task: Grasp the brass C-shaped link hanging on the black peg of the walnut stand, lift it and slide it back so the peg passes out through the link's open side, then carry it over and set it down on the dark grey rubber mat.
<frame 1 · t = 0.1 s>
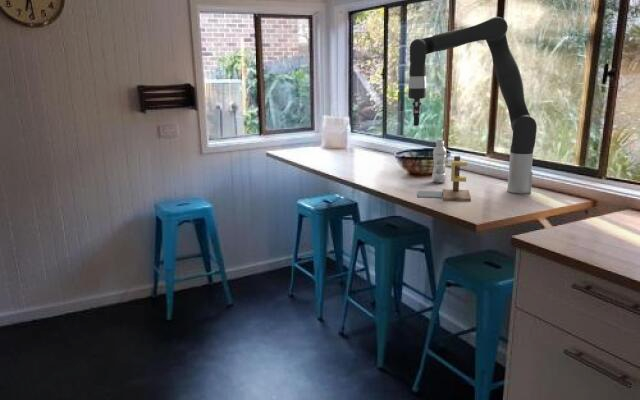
hand: (416, 124, 224), 29 cm above the breakfast bar, fingers open, 8 cm apart
plastic bottle: (438, 182, 243), on the breakfast bar
c link: (458, 180, 214), point 7 cm above the breakfast bar, touching stand
stand: (456, 196, 216), on the breakfast bar
mat: (429, 194, 220), on the breakfast bar
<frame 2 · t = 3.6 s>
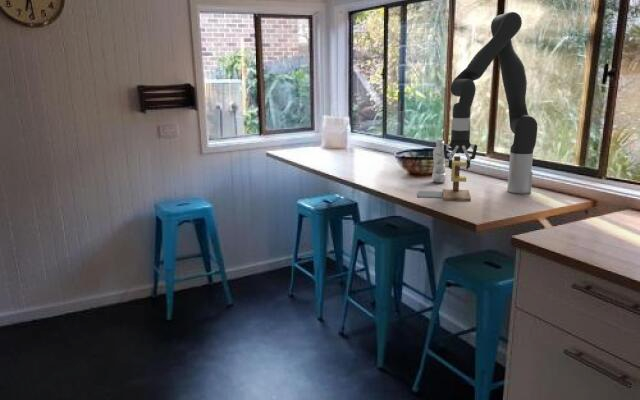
hand: (458, 168, 212), 12 cm above the breakfast bar, fingers closed on c link, 6 cm apart
c link: (458, 180, 214), point 7 cm above the breakfast bar, touching gripper, stand
everything else where it was.
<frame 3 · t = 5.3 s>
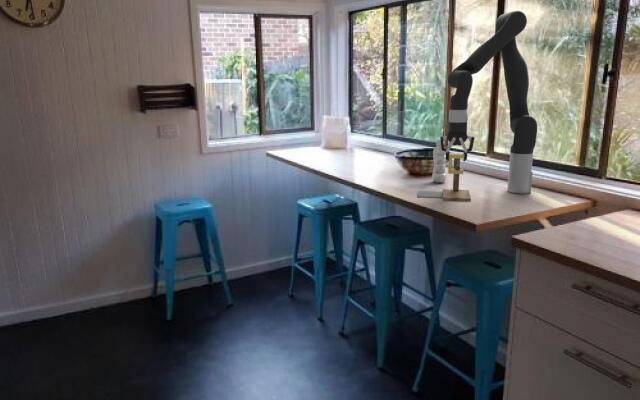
hand: (456, 160, 212), 15 cm above the breakfast bar, fingers closed on c link, 6 cm apart
c link: (455, 172, 213), point 10 cm above the breakfast bar, touching gripper
everything else where it was.
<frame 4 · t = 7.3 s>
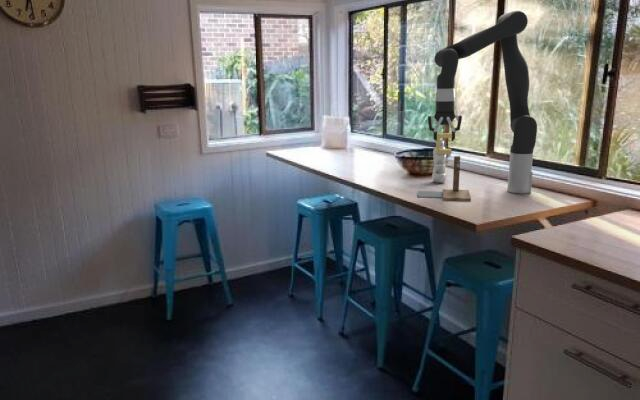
hand: (444, 140, 211), 24 cm above the breakfast bar, fingers closed on c link, 6 cm apart
c link: (443, 152, 212), point 19 cm above the breakfast bar, touching gripper
everything else where it was.
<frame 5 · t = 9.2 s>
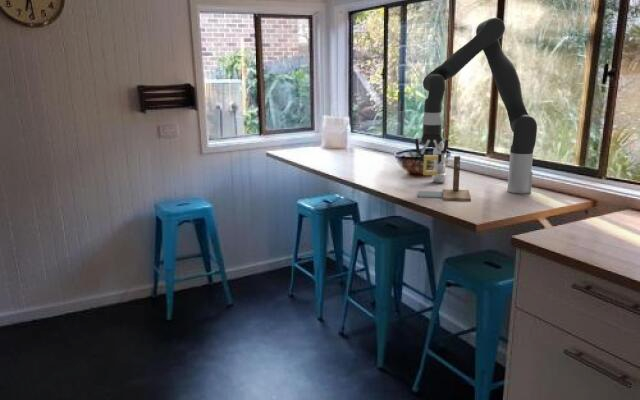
hand: (430, 162, 216), 14 cm above the breakfast bar, fingers closed on c link, 6 cm apart
c link: (430, 174, 218), point 9 cm above the breakfast bar, touching gripper
everything else where it was.
when the fingers open (7 cm above the breakfast bar, at t = 11.1 s): c link drops 1 cm, resting on mat.
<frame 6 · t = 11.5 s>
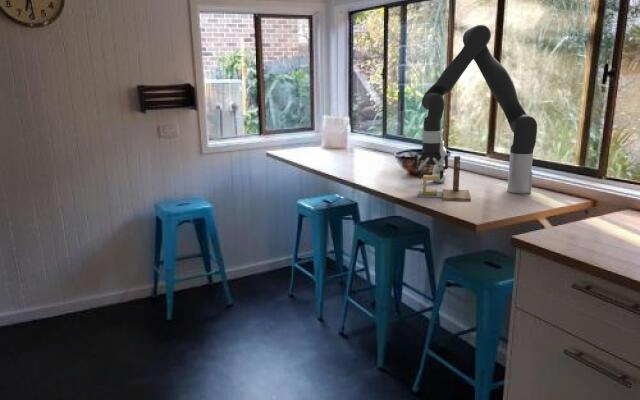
hand: (430, 178, 218), 7 cm above the breakfast bar, fingers open, 8 cm apart
c link: (429, 193, 220), resting on mat
everything else where it was.
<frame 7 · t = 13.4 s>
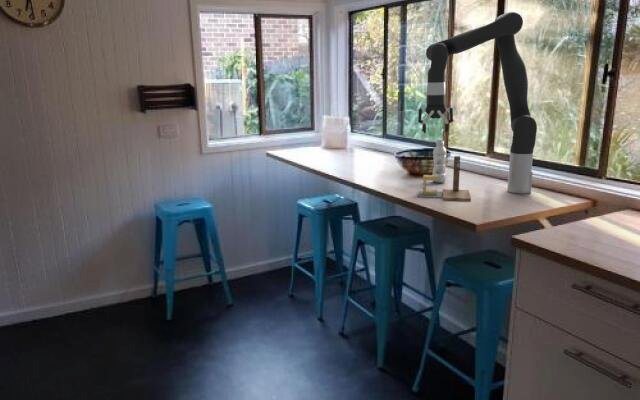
hand: (435, 132, 213), 27 cm above the breakfast bar, fingers open, 8 cm apart
nothing on the breakfast bar moved.
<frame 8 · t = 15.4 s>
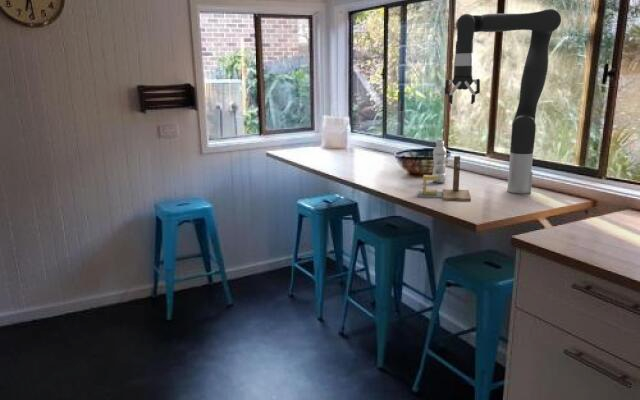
hand: (461, 104, 216), 38 cm above the breakfast bar, fingers open, 8 cm apart
nothing on the breakfast bar moved.
at the end: c link inside the target area on the mat (0.0 cm from its centre), point 0.4 cm above the mat's base; c link touching mat; the gripper is holding nothing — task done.
